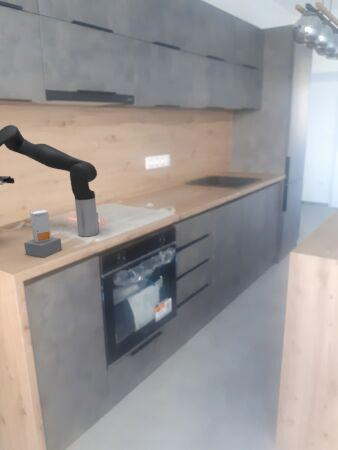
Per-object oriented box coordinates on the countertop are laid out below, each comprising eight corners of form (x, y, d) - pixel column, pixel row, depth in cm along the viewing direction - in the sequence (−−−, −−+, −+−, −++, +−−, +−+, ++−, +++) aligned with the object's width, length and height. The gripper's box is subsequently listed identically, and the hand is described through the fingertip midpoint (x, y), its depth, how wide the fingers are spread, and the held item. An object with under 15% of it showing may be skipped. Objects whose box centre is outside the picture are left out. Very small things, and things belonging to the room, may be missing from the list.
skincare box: (36, 243, 147) (32, 214, 143) (33, 240, 150) (29, 212, 147) (51, 239, 150) (48, 211, 147) (48, 237, 153) (44, 209, 150)
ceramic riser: (44, 246, 158) (42, 235, 156) (61, 249, 153) (60, 238, 152) (25, 254, 149) (24, 242, 148) (43, 257, 145) (42, 245, 143)
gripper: (-5, 186, 165) (20, 188, 158) (-35, 192, 153) (-9, 194, 146) (-8, 169, 163) (17, 171, 156) (-38, 174, 151) (-12, 175, 144)
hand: (5, 182), depth 151 cm, fingers open, 8 cm apart
